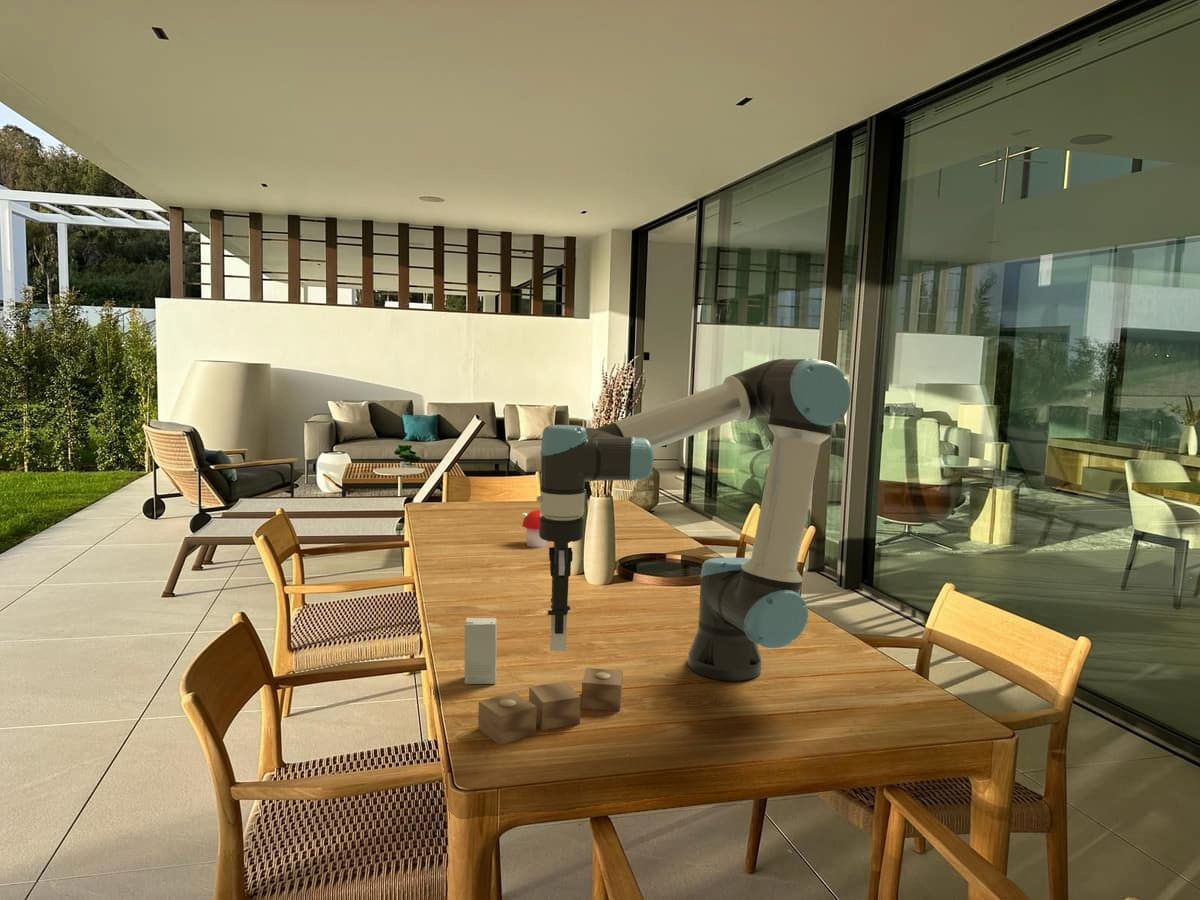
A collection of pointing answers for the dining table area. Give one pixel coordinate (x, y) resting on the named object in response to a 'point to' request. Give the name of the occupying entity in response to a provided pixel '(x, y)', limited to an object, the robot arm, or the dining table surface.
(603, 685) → the dotted walnut block
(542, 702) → the plain walnut block
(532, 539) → the mushroom
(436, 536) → the dining table surface
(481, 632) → the skincare box
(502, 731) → the dotted walnut block
